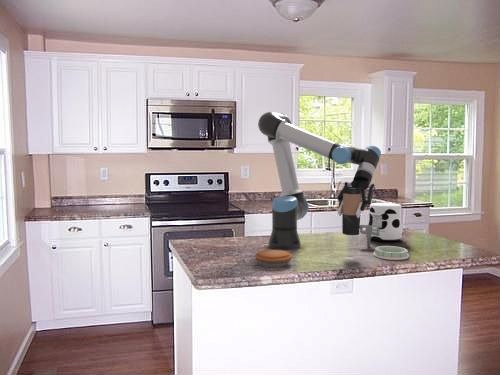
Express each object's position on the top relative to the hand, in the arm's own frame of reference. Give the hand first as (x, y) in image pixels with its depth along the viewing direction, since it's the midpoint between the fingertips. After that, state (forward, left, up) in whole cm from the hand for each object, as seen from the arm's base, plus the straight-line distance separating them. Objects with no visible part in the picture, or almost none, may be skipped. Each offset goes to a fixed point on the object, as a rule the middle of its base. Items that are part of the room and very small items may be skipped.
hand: (348, 214), depth 197 cm
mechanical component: (+15, +22, -19) cm, 32 cm away
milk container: (+27, +37, -19) cm, 49 cm away
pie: (-32, -9, -19) cm, 38 cm away
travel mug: (+2, +3, -9) cm, 10 cm away
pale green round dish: (+20, +4, -19) cm, 27 cm away
